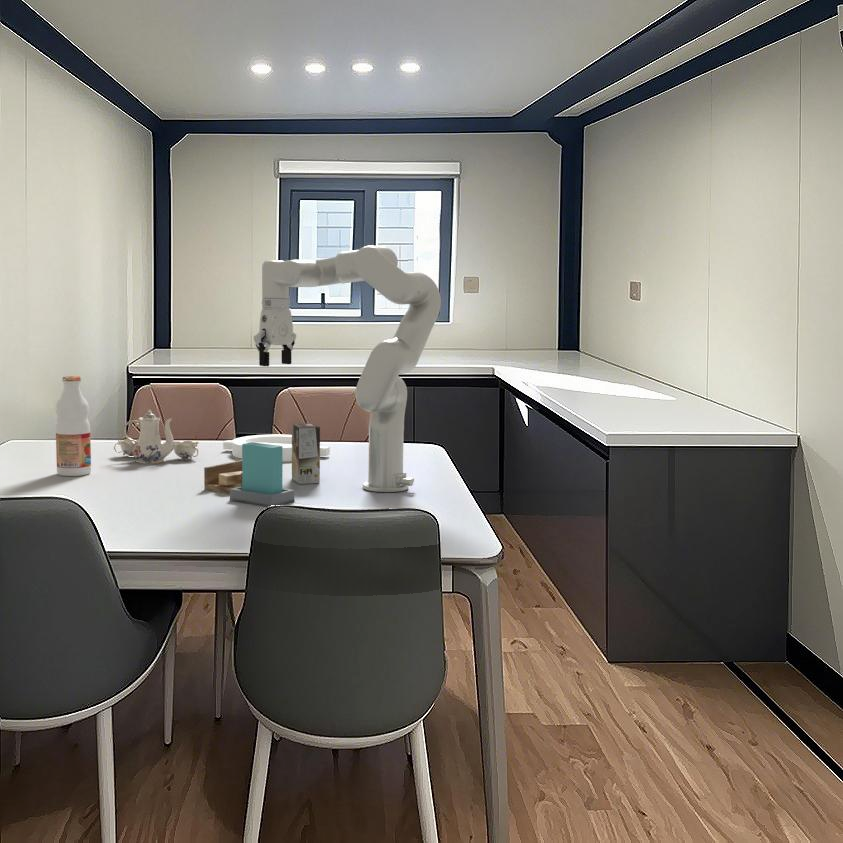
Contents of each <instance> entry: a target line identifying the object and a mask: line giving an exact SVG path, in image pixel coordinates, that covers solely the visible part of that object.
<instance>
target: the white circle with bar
mask: <svg viewBox="0 0 843 843" xmlns="http://www.w3.org/2000/svg"><path fill="white" fill-rule="evenodd" d="M250 442H256V443H264V444H271V445H279V446H282V463H283V462H285V463H286V462H292V434H282V433H281V434H279V433H278V434H256V435H246V436H241V437H236V438H233V439H232V440H229V439H228V440H224V441H223V442H222V449H223V450H231V455H233V456H232V457H234V456H235V457H234V458H236V457H238V458H237V459H239V458H242V444H245V443H250ZM330 449H331V447H330V446H326V445H325V446H321V445H320V457H328V456H329V455H331V454H330V451H331V450H330Z"/></svg>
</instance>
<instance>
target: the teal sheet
mask: <svg viewBox="0 0 843 843" xmlns="http://www.w3.org/2000/svg"><path fill="white" fill-rule="evenodd" d="M241 460H242V490H245V491H252V492H258V493H264V494H270V495H272V494H276V493H280V492H282V488H283V462H282V446H279V445H271V444H264V443H256V442H250V443H245V444H242V459H241Z"/></svg>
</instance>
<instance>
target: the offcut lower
mask: <svg viewBox="0 0 843 843" xmlns="http://www.w3.org/2000/svg"><path fill="white" fill-rule="evenodd" d="M219 485H220V486H226V487H233V488H236V487H241V484H234V485H223V484H220V483H219Z"/></svg>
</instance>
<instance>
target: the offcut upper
mask: <svg viewBox="0 0 843 843" xmlns="http://www.w3.org/2000/svg"><path fill="white" fill-rule="evenodd" d="M241 473H242V471H238V472H230V473H222V474H219V483H220V484H223V485H234V484H241Z"/></svg>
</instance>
